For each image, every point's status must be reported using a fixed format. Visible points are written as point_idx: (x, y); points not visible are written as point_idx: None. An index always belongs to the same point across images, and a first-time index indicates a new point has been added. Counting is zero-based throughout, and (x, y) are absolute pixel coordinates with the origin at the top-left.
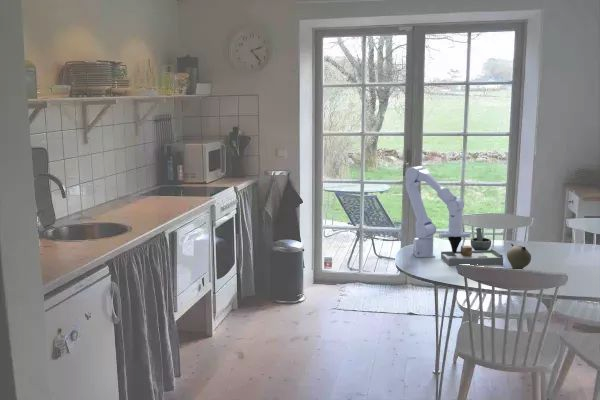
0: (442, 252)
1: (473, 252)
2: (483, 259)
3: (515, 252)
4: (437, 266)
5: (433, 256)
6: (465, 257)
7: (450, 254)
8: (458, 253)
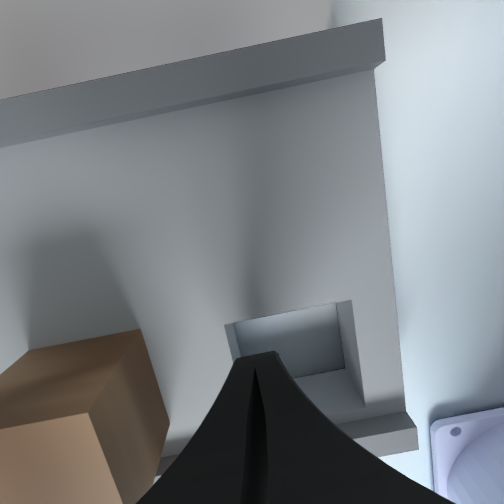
0: (402, 424)
1: None
2: None
3: None
4: (497, 21)
5: (454, 418)
6: (112, 256)
7: None
8: None
